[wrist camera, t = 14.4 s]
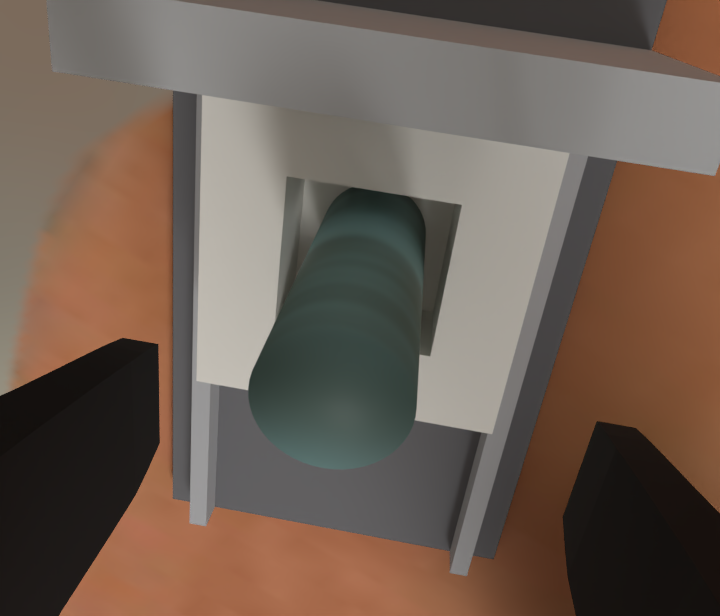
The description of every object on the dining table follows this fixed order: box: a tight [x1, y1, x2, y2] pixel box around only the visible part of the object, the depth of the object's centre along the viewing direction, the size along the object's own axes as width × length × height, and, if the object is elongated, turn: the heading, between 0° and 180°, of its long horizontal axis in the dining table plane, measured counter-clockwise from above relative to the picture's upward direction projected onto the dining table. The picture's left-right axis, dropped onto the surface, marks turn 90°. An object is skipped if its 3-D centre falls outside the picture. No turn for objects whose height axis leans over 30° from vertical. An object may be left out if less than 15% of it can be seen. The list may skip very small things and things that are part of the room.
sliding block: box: [196, 95, 570, 434], centre depth 17 cm, size 8×8×4 cm
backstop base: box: [47, 0, 720, 576], centre depth 18 cm, size 19×12×7 cm, turn 173°
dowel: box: [248, 187, 426, 469], centre depth 15 cm, size 3×3×8 cm
